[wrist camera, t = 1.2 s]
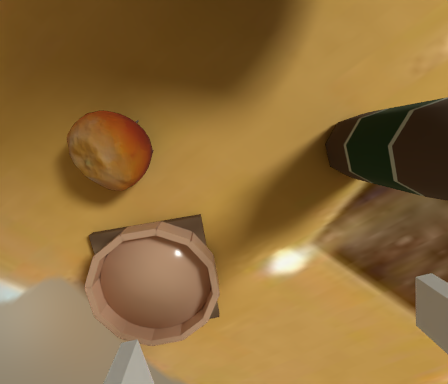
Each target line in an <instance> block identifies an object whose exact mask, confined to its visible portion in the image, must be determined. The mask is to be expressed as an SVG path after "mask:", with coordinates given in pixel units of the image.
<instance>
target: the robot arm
mask: <svg viewBox="0 0 448 384" xmlns="http://www.w3.org/2000/svg"><path fill="white" fill-rule="evenodd" d="M416 326H417V327H419V328H420V329H421V330H422V331H423V332H424V333H425V334H426V335H427V336H428V337H429V338H431V339H432V340H433V341H434V342H435V343H436V344H437V345H438V346H439V347H440V348H442V349H443V350H444V351H445V352H446V353H447V354H448V283H447V282H445V281H443V280H442V279H440V278H439V277H437V276H435V275H434V274H432V273H431V274H427V275H422V276H418V277H416ZM103 384H154V382H153V379H152V376H151V374H150V371H149V368H148V366H147V363H146V360H145V358H144V355H143V352H142V350H141V347H140V344H139V342H138V339H136V340H132V341H127V342H123V343H121V345H120V347H119V349H118V351H117V354H116V356H115V358H114V360H113V363H112V365H111V368H110V369H109V372H108V374H107V376H106V379H105V381H104V383H103Z"/></svg>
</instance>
